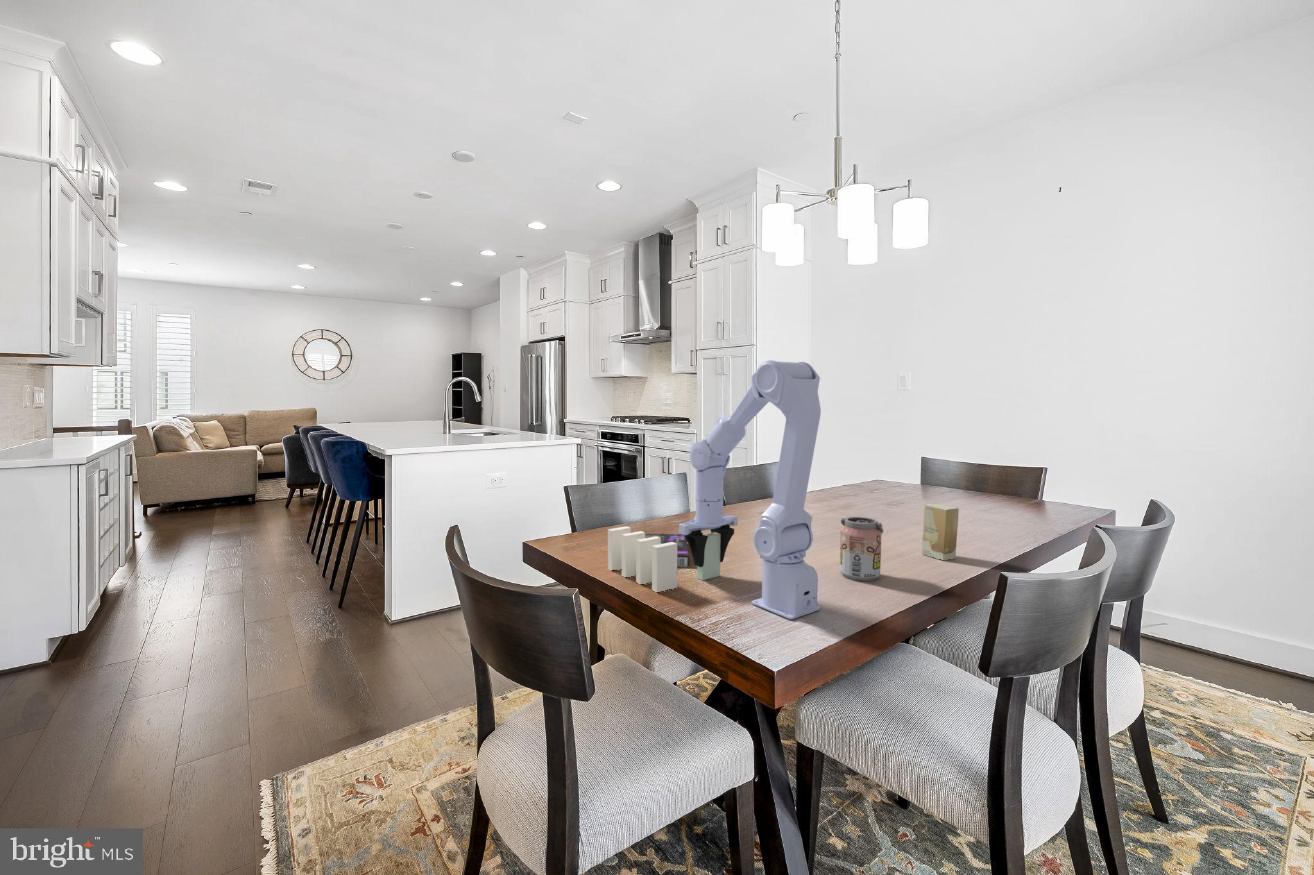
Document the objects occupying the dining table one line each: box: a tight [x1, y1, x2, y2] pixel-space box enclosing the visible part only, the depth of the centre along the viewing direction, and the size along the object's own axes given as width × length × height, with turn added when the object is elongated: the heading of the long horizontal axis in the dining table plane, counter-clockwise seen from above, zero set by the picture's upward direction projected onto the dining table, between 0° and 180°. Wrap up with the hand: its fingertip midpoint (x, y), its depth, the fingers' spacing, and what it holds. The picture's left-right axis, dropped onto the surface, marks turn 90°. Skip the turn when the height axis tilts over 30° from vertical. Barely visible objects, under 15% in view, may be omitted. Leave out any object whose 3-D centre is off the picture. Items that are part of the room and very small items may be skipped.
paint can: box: [839, 516, 884, 582], centre depth 119 cm, size 9×8×12 cm
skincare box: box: [921, 503, 960, 561], centre depth 132 cm, size 6×4×12 cm
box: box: [645, 533, 690, 567], centre depth 135 cm, size 14×4×20 cm
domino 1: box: [607, 525, 632, 571], centre depth 123 cm, size 2×5×9 cm, turn 126°
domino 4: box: [651, 542, 678, 593], centre depth 110 cm, size 2×5×9 cm, turn 127°
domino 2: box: [621, 530, 646, 578], centre depth 119 cm, size 2×5×9 cm, turn 126°
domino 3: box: [635, 536, 661, 585], centre depth 114 cm, size 2×5×9 cm, turn 126°
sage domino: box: [696, 532, 721, 581], centre depth 117 cm, size 2×5×9 cm, turn 126°
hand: (708, 563), depth 117 cm, fingers closed on sage domino, 5 cm apart
